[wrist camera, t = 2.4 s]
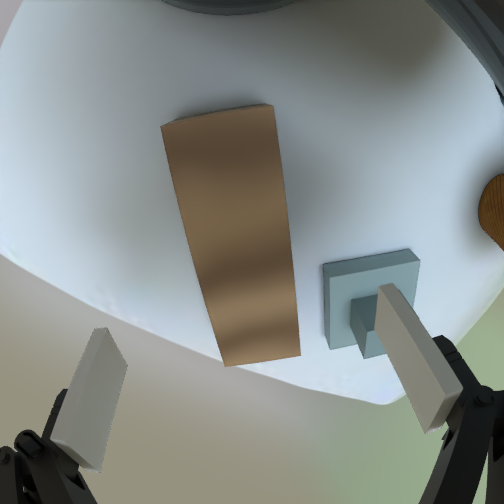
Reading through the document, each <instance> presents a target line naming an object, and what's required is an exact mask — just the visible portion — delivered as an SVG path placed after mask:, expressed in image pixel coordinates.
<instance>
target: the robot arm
mask: <svg viewBox="0 0 504 504" xmlns="http://www.w3.org/2000/svg"><path fill="white" fill-rule="evenodd" d="M162 1H164V2H166V3H168V4H171V5H173V6H176V7H179V8H182V9H186V10H189V11H194V12H199V13H205V14H215V15H241V14H251V13H258V12H263V11H268V10H272V9H276V8H279V7H282V6H285V5H288V4H290V3H293V2H295V1H297V0H162ZM425 1H426V2H427V3H428V4H429V5H430V6H431V7H432V8H433V9H434V10H435V11H436V12H437V13H438V14H439V15H440V16H441V17H442V18H443V19H444V21H445V22H446V23H447V24H448V25H449V26H450V27H451V28H452V29H453V30H454V31H455V33H456V34H457V35H458V36H459V37H460V38H461V39H462V41H463V42H464V43H465V44H466V45H467V47H468V48H469V49H470V50H471V52H472V53H473V54H474V55H475V57H476V58H477V59H478V60H479V62H480V63H481V64H482V66H483V67H484V68H485V70H486V71H487V72H488V74H489V75H490V77H491V78H492V79H493V81H494V84H495V87H496V89H497V91H498V93H499V96H500V99H501V103H502V104H503V106H504V0H425ZM374 330H375V332H376V334H377V336H378V338H379V339H380V341H381V343H382V345H383V347H384V349H385V351H386V353H387V355H388V357H389V359H390V361H391V363H392V365H393V367H394V369H395V371H396V373H397V375H398V377H399V379H400V381H401V383H402V385H403V388H404V390H405V392H406V394H407V395H408V398H409V400H410V402H411V404H412V407H413V409H414V411H415V413H416V415H417V418H418V420H419V422H420V424H421V426H422V429H423V431H424V433H425V434H428V433H430V432H433V431H435V430H438V429H440V428H442V426H443V424H444V422H445V421H446V422H447V424H448V426H449V428H448V430H447V431H446V433H445V434H444V436H443V438H442V440H444V442H443V445H442V448H441V451H440V454H439V456H438V459H437V461H436V464H435V467H434V469H433V472H432V474H431V477H430V479H429V482H428V484H427V486H426V489H425V491H424V493H423V495H422V498H421V500H420V502H419V504H472V502H473V499H474V497H475V494H476V490H477V488H478V485H479V481H480V478H481V475H482V471H483V467H484V464H485V460H486V456H487V452H488V475H487V489H486V501H485V504H504V390H501V391H493V390H492V389H491V388H490V387H487V386H483V385H481V384H480V383H479V382H478V380H477V379H476V377H475V376H474V374H473V373H472V371H471V370H470V368H469V367H468V365H467V364H466V362H465V361H464V359H462V356H461V355H460V353H459V352H457V349H456V347H455V346H454V344H453V343H452V342H451V341H450V340H449V339H447V338H446V337H444V336H443V335H440V336H437V337H434V338H431V336H430V335H429V333H428V332H427V330H426V329H425V327H424V326H423V324H422V323H421V321H420V320H419V318H418V317H417V316H416V314H415V313H414V311H413V310H412V308H411V307H410V306H409V304H408V303H407V301H406V300H405V299H404V297H403V296H402V294H401V293H400V292H399V290H398V289H397V288H396V286H395V285H394V284H393V283H390V284H385V285H380V286H378V298H377V309H376V318H375V327H374ZM127 367H128V365H127V363H126V361H125V360H124V358H123V356H122V354H121V353H120V351H119V349H118V347H117V345H116V343H115V342H114V340H113V338H112V336H111V334H110V332H109V330H108V328H97V329H94V331H93V333H92V335H91V337H90V340H89V342H88V344H87V346H86V348H85V351H84V353H83V355H82V358H81V360H80V362H79V364H78V367H77V369H76V371H75V374H74V376H73V379H72V381H71V384H70V386H69V388H68V389H63V390H62V391H61V392H60V394H59V395H58V396H57V398H56V400H55V403H54V405H53V406H54V407H53V408H52V410H51V415H49V418H48V421H47V423H46V426H45V429H44V431H43V434H42V437H41V438H40V437H39V436H38V435H37V434H36V433H35V432H34V431H32V430H24V431H22V432H21V433H19V434H18V436H17V437H16V439H15V442H14V448H15V449H16V450H17V451H18V452H15V451H14V450H13V449H12V448H10V447H8V446H3V447H1V448H0V504H97V502H96V500H95V498H94V497H93V495H92V493H91V491H90V490H89V488H88V486H87V484H86V482H85V480H84V478H83V477H82V475H81V473H80V472H79V471H78V468H79V465H80V466H81V467H82V468H84V469H85V470H86V471H91V472H98V473H101V469H102V464H103V459H104V455H105V451H106V446H107V441H108V438H109V434H110V429H111V425H112V421H113V418H114V413H115V409H116V406H117V402H118V399H119V395H120V391H121V388H122V384H123V381H124V377H125V374H126V370H127ZM23 487H24V491H23Z"/></svg>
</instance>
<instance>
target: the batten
mask: <svg viewBox="0 0 504 504" xmlns="http://www.w3.org/2000/svg"><path fill="white" fill-rule="evenodd" d="M160 127H161V131H162V136H163V141H164V145H165V150H166V154H167V159H168V163H169V168H170V172H171V176H172V181H173V185H174V189H175V193H176V197H177V201H178V205H179V209H180V213H181V217H182V221H183V225H184V229H185V233H186V237H187V240H188V244H189V248H190V252H191V255H192V259H193V263H194V266H195V270H196V273H197V277H198V280H199V284H200V287H201V291H202V294H203V298H204V301H205V304H206V308H207V311H208V315H209V318H210V321H211V324H212V328H213V331H214V334H215V337H216V341H217V344H218V347H219V350H220V353H221V356H222V359H223V362H224V366H225V367H226V366H236V365H244V364H251V363H258V362H265V361H272V360H278V359H284V358H290V357H296V356H301V352H300V339H299V326H298V314H297V303H296V292H295V281H294V271H293V261H292V251H291V242H290V232H289V223H288V215H287V206H286V198H285V189H284V181H283V173H282V165H281V158H280V150H279V143H278V136H277V128H276V121H275V115H274V108H273V106H272V105H268V104H258V105H251V106H245V107H238V108H232V109H226V110H221V111H215V112H210V113H205V114H200V115H195V116H190V117H185V118H181V119H176V120H174V121H171V122H169V123H167V124H165V125H163V126H160Z"/></svg>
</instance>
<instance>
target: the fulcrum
mask: <svg viewBox="0 0 504 504" xmlns="http://www.w3.org/2000/svg"><path fill="white" fill-rule="evenodd" d="M419 267H420V259H419V258H418V257H417V256H416V255H415V254H414V253H413V252H412V251H411V250H410V249H407V250H401V251H396V252H390V253H385V254H379V255H374V256H368V257H363V258H357V259H352V260H346V261H340V262H334V263H329V264H323V269H324V297H325V336H326V339H327V342H328V345H329V349H330V350H333V349H337V348H342V347H347V346H351V345H356V344H358V346H359V349H360V351H361V353H362V356H363V358H364V359H367V358H371V357H375V356H379V355H383V354H387V353H386V351H385V349H384V347H383V345H382V343H381V341H380V339H379V338H378V336H377V334H376V332H375V330H374V327H375V318H376V309H377V298H378V286H380V285H385V284H390V283H393V284H394V285H395V286H396V288H397V289H398V290H399V292H400V293H401V294H402V296H403V297H404V299H405V300H406V301H407V303H408V304H409V306H410V307H411V308H412V310H413V305H414V299H415V293H416V287H417V281H418V274H419ZM413 311H414V310H413ZM414 313H415V311H414ZM415 314H416V313H415ZM416 316H417V314H416ZM417 317H418V316H417ZM418 318H419V317H418Z"/></svg>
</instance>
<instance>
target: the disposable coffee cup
mask: <svg viewBox="0 0 504 504" xmlns="http://www.w3.org/2000/svg"><path fill="white" fill-rule="evenodd" d="M479 221H480V225H481V227H482V228H483V230H484V231H485V232H486V233H487V234H488V235H489V236H490V237H491V238H492V239H493V240H494V241H495V242H496V243H497V244H498V245H499V247H500V248H501V249H502V250H503V251H504V174H501V175H498V176H496V177H495V178H493V179H492V180H491V181H490V182H489V184H488V185H487V187H486V188H485V190H484V192H483V194H482V197H481V200H480V205H479Z"/></svg>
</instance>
